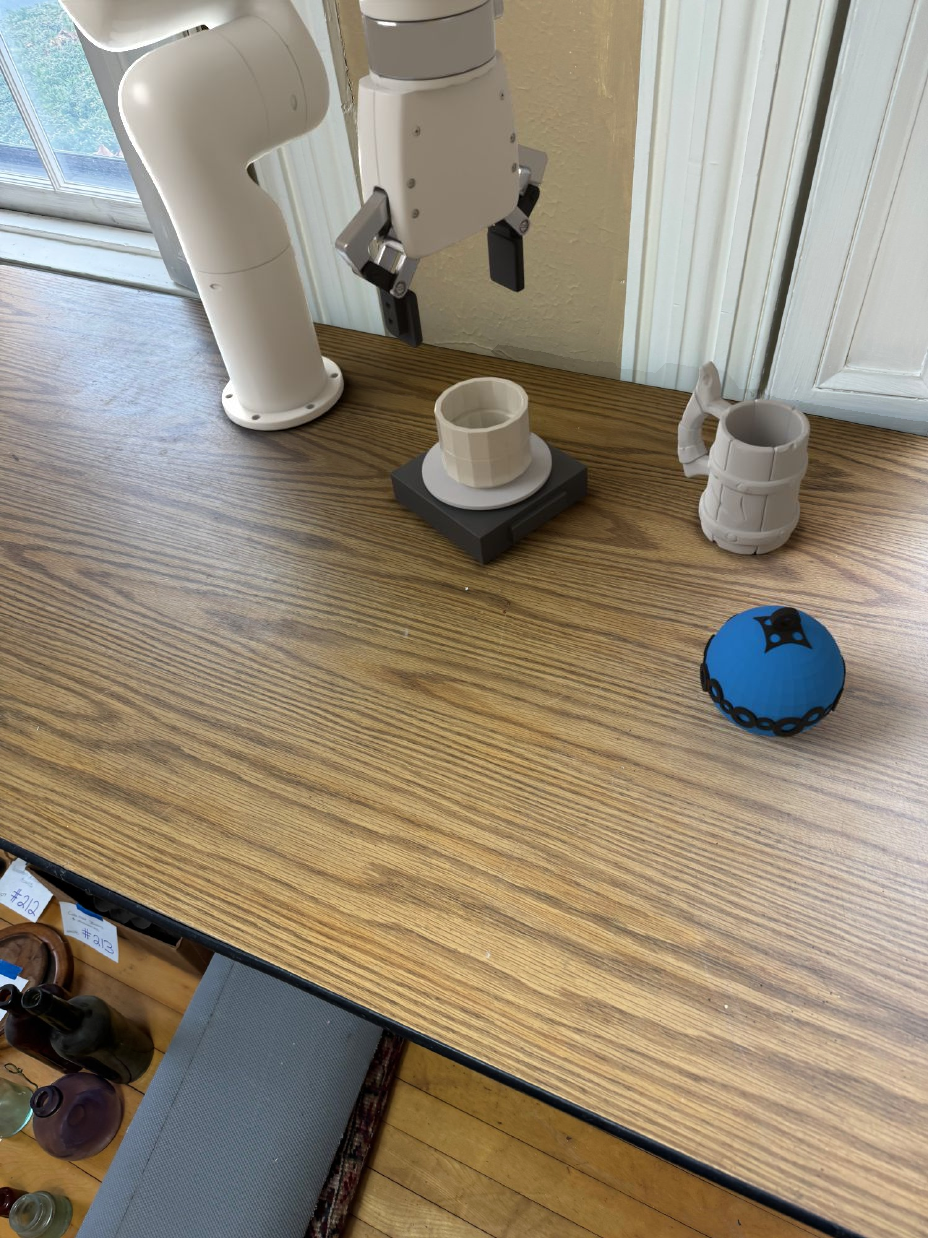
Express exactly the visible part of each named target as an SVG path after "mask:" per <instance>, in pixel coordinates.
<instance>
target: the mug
mask: <svg viewBox="0 0 928 1238" xmlns="http://www.w3.org/2000/svg"><path fill="white" fill-rule="evenodd" d="M709 415H712V416H713V417H715V418H716V419H718V424H717V425H718V426H717V430H716V434H715V440H714V442H713V443H712V445H711V446H710V450H709V452H708V450H707V447H706V445H705V442H704V439H702V434H703V424H704V423H703V422H704V420H705V419H706V418H707V417H708V416H709ZM810 433H811V423H810V421H809V419H808V416H806V415H805V414H804V413H803V412H802V411H801V410H800V409H798V408H796V406H793V405H791V404H790V403H786V402H784V401H779V400H773V399H769V398H768V399H766V398H756V399H755V400H754V399H747V400H742V401H739V402H737V403H735V404H732V403H730V402H729V401H727V400H725V399H724V398H722V384H721V379H720V374H719V371H718V368H717V366H716V365H715V363H714V362H713V361H711V360H710V361H708V362H706V363H704V364H702V365H701V366H700V367H699V375H698V380H697V383H696V386H695V387H694V389H693V391H692V395H691V396H690V399H689V401H688V402H687V405H686V408H685V410H684V412H683V415H682V419H681V420H680V422H679V423H678V428H677V440H678V441H677V455H678V460H679V463H680V464H682V467H683V473H684V476H685V477H687V478H688V479H692V478H695V477H696V476H707V477H708V480H707V484H706V488H705V489H704V491H703V492H702V494H701V495H700V499H699V504H698V516H699V519H700V521H701V522H700V524H701V529H702V531H703V534H704V535H705V536H706V538H707V539H708V540H709V541H710V542H715V543H716V544H717V546H718V547H719V548H720V549H723V550H726V551H728V552H732V553H735V554H740V555H749V556H750V555H753V554H754V553H755V554H756V555H763V554H767V553H769V552H772V551H773V552H774V551H775V550H776V549H779V548H780V547H782V546H783V545H784V544H786V542H787V541H788V540H789V538H790V537H791V535H792V533H793V531H794V530H795V528H796V527H797V526H798V523H799V520H800V516H801V504H800V501H799V494H800V490H801V489H800V488H801V485H802V484H801V483H802V480H803V478H805V476H806V473H807V469H808V466H809V453H808V451H807V449H808V446H809V445H808V444H809V440H810ZM708 453H709V455H707V454H708Z"/></svg>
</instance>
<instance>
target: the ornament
mask: <svg viewBox="0 0 928 1238" xmlns="http://www.w3.org/2000/svg"><path fill="white" fill-rule="evenodd" d="M703 649H704V650H703V654H702V657H703V659H702V662H701V663H700V665H699V680H700V687H701V689H702V690H701V691H703V692H705V693H708V696H709V697H710V699H711V702H712V703H713V704H714V706H715V707H716V709H717V711H719V712H720V713H721V714H722V715H723V716H724V717H725V719H727V720H728V722H730V723H732V724H733V725H734V726H736V728H739V729H741V730H743V731H745V732H747V733H751V734H753V735H757V736H761V737H767V738H790V737H794V736H796V735H799V734H800V733H803V732H805V731H808V730H810V729H811V728H813V727H815V726H816V725H818V724H820V722H821V721H822V720H824V719H825V718H827V717H828V715H829V714H830V713H831V712H835V710H836V709H837V707H838V705H839V702H840V700H841V698H842V695H843V693H844V691H845V683H846V675H847V668H846V662H845V658H844V656H843V654H842V652H841V649H840V647H839V645H838V644H837V642H836V639H835V638H834V636H833V635H832V633H831V632H830V631H829V630H828V629H827V628H826V626H825V625H824V624H823V623H821V622H820V621H819V620H818V619H816V618H814V617H813V616H811V615H810V614H808V613H807V612H805V611H802V610H800V609H797V608H795V607H792V606H786V605H785V606H784V605H778V604H777V605H762V606H755V607H752V608H749V609H746V610H743V611H741V612H740V613H736V614H734V615H731V616H730V617H729V618H728V619H727V620H726V621H725V623H724V624H723V625H722V626H721V627H720V628H719V630H718V631H717V632H716V633H712V634H711V636H710V637H709V639H708V640H707V642H706V644H705V646H704V648H703Z"/></svg>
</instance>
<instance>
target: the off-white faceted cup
mask: <svg viewBox="0 0 928 1238" xmlns="http://www.w3.org/2000/svg"><path fill="white" fill-rule="evenodd" d="M434 417H435V424H436V430H437V435H438V442H439V443H440V449H441V455H442V461H443V466H444V468H445V470H446V472H447V474H448V475H449V476H450V477H451V478H453V479H454V480H456V481H457V482H459V483H462V484H464V485H466V486H469V487H474V488H494V487H499V486H502V485H505V484H507V483H509V482H511V481H513V480H514V479H516V478H517V477H518V476H519V475H521V474H522V473H523V472H524V471H525V470H526V469H527V467H528V466H529V464H530V463H531V457H532V446H531V432H532V430H531V417H530V401H529V395H528V394H527V392H526V391H525V390H524V388H523V386H521V385H519V384H518V383H516V382H514V381H512V380H509V379H505V378H500V377H495V376H485V377H474V378H470V379H467V380H463V381H459V382H457V383H455V384H454V385H452V386H450V387H449V388H447V389H445V390H444V391H443V392H442V393H441V394H440V395H439V397H438V398H437V399H436V401H435V406H434Z"/></svg>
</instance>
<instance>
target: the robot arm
mask: <svg viewBox="0 0 928 1238" xmlns="http://www.w3.org/2000/svg"><path fill="white" fill-rule="evenodd" d="M58 2H59V4H60V5H61V6H62V8H63V9H64V10H65V12H66V14H68V15H69V17H70V19H71V20H72V22H73V23H74V24H75V25H76V27H77V28H78V29H79V30H80V32H81V33H82V34H83V35H84V36H85V37H86V38H87V39H88V41H90V42H91V43H93V44H94V45H95V46H97V47H98V48H101V49H103V50H106V51H110V52H125V51H129V50H130V51H131V50H134V49H138V48H141V47H144V46H145V47H146V46H148V45H150V44H153V43H156V42H159V41H161V40H162V41H163V40H164V39H168V38H170V37H172V36H175V35H177V34H181V33H183V32H185V31H188V30H191V29H195V28H196V27H199V26H202V25H204V26H206V27H208V29H203V30H199V31H197V32H194V33H192V34H190V35H187V36H185V37H182V38H179V39H176V40H174V41H171V42H168V43H166V44H163V45H161V46H158V47H157V48H154V49H152V50H151V51H148V52H147V53H145V54H144V55H142V56H141V57H140V58H138V59H136V60H135V62H133V63H132V64H131V66H130V67H128V69H127V70H126V72H125V74H124V75H123V77H122V80H121V81H120V85H119V89H118V107H119V113H120V117H121V120H122V122H123V125H124V128H125V130H126V131H125V132H126V133H127V135H128V137H129V140H130V141H131V143H132V146H133V147H134V149H135V150H136V152H137V154H138V155H139V158H140V160H141V161H142V163H143V164H144V166H145V168H146V170H147V172H148V174H149V176H150V177H151V179H152V181H153V183H154V185H155V187H156V189H157V191H158V193H159V195H160V197H161V199H162V202H163V204H164V206H165V209H166V210H167V213H168V215H169V218H170V220H171V222H172V225H173V227H174V229H175V232H176V235H177V238H178V240H179V243H180V246H181V248H182V252H183V254H184V257H185V259H186V262H187V264H188V266H189V269H190V272H191V274H192V277H193V280H194V282H195V286H196V288H197V291H198V294H199V296H200V299H201V302H202V305H203V308H204V311H205V313H206V316H207V318H208V322H209V325H210V328H211V330H212V333H213V335H214V338H215V341H216V344H217V346H218V349H219V352H220V355H221V358H222V360H223V363H224V366H225V368H226V369H225V370H226V372H227V373H228V377H229V382H228V383H227V384H226V386H225V387H224V389H223V392H222V396H221V401H222V402H221V403H222V406H223V409H224V411H225V414H226V415H227V417H228V418H229V419H230V420H231V421H232V422H233V423H235V424H236V425H239V426H241V427H242V428H247V429H250V430H255V431H279V430H285V429H286V430H287V429H289V428H294V427H298V426H301V425H303V424H306V423H309V422H311V421H313V420H315V419H316V418H319V417H320V416H322V415H324V414H325V413H326V412H328V411H329V410H330V409H331V408H332V407H333V406H335V404H337V402H338V400H339V399H340V398H341V396H342V394H343V391H344V386H345V381H344V377H343V373H342V371H341V368H340V367H339V365H337V363H336V362H334V361H333V360H332V359H330V358H328V357H325V356H323V355H322V352H321V348H320V345H319V344H320V343H319V339H318V336H317V333H316V329H315V325H314V321H313V317H312V314H311V310H310V306H309V302H308V299H307V294H306V291H305V286H304V283H303V280H302V276H301V271H300V269H299V264H298V261H297V257H296V252H295V250H294V245H293V242H292V238H291V235H290V231H289V227H288V223H287V220H286V218H285V216H284V213H283V211H282V209H281V208H280V207H281V206H279V204H278V202H277V201H276V200H275V199H274V198H273V197H272V196H271V195H270V194H269V193H268V192H267V191H266V190H265V189H263V188H262V187H261V186H259V184H258V183H256V182H255V181H253V179H252V178H251V177H250V175H249V173H248V170H247V169H248V167H249V166H250V164H252V163H254V162H256V161H258V160H260V159H261V158H262V157H263V156H265V155H268V154H270V153H272V152H275V151H276V150H279V149H281V148H282V147H284V146H286V145H288V144H291V143H293V142H295V141H297V140H299V139H301V138H303V137H305V136H307V135H308V134H310V133H311V132H313V131H314V130H316V129H317V128H318V127H319V126H320V125H321V124H322V122H323V120H324V119H325V118H326V115H327V113H328V110H329V106H330V98H331V97H330V95H331V94H330V83H329V77H328V74H327V69H326V67H325V66H326V65H325V63H324V61H323V58H322V55H321V53H320V51H319V49H318V47H317V45H316V43H315V40H314V38H313V37H312V35H311V33H310V32H309V30H308V28H307V26H306V24H305V23H304V21H303V19H302V17H301V16H300V14H299V12H298V10H297V9H296V6H295V5H294V4H293V2H292V1H291V0H58ZM358 3H359V9H360V18H361V25H362V30H363V31H362V33H363V38H364V46H365V51H366V58H367V63H368V64H367V65H368V70H369V71H368V72H369V74H367V75H365V76H363V77H361V78H359V80H358V89H357V114H356V115H357V116H356V117H357V119H356V121H357V125H356V126H357V149H358V160H359V162H358V163H359V173H360V184H361V191H362V200H363V205H362V206H361V207H360V209H359V210H358V212H356V214H355V215H354V216H353V218H352V219H351V220H350V221H349V222H348V224H347V225H346V227H345V228H344V229H343V230H342V231H341V232H340V233H339V235H338V236H337V237H336V239H335V241H334V249H335V250H336V252H337V253H338V254H339V255H340V256H341V258H342V260H343V261H345V263H346V265H347V266H349V267H350V268H351V271H352V272H353V274H354V275H356V276H357V277H359V278H361V279H363V280H364V281H366V282H368V283H370V284H371V285H373V286H375V287H378V290H379V295H380V300H381V307H382V313H383V320H384V325H385V327H386V329H387V331H388V332H389V334H391V336H393V337H395V338H397V339H398V340H399V341H401V342H403V343H405V344H407V345H409V347H411V348H413V349H416V348H418V347H420V346H422V344H423V341H424V337H423V331H422V330H423V329H422V324H421V318H420V317H421V316H420V310H419V302H418V296H417V293H416V292H415V291H413V290H411V289H410V286H411V283H412V281H413V278H414V276H415V273H416V271H417V268H418V266H419V263H420V261H421V259H425V258H427V257H429V256H433V255H434V254H436V253H438V252H441V251H442V250H444V249H446V248H449V247H451V246H452V245H454V244H456V243H459V242H461V241H463V240H465V239H468V238H469V237H471V236H473V235H476V234H477V233H479V232H481V231H483V230H485V229H487V233H486V238H487V239H486V240H487V255H488V267H489V268H488V269H489V278H490V280H491V282H493V283H496V284H498V285H500V286H502V287H504V288H506V289H508V290H510V291H512V292H515V293H519V292H522V291H524V290H525V285H526V284H525V283H526V282H525V258H524V236H525V235H527V234H528V233H529V231H530V229H531V220H530V216H531V214H532V213H533V211H534V209H535V207H536V205H537V203H538V201H539V199H540V197H541V196H540V195H541V190H540V187H539V186H540V185H541V184H542V181H543V178H544V174H545V171H546V168H547V164H548V160H549V157H548V154H547V152H544V151H542V150H539V149H536V148H534V147H530V146H527V145H523V144H520V143H518V137H517V136H518V135H517V127H516V120H515V118H516V117H515V112H514V105H513V99H512V93H511V88H510V81H509V78H508V72H507V68H506V65H505V61H504V57H503V53H502V52H501V51H500V50H499V49H498V48H497V43H496V25H495V21H496V20H498V19H500V18H502V16H503V14H504V11H505V9H504V1H503V0H358ZM372 241H374V242H378V243H380V246H379V248H378V250H377V254H376V256H375V258H374V259H373V258H372V255H371V254H370V252H369V245H370V244H371V242H372ZM399 253H400V256H399V260H398V262H397V264H396V266H395V269H394V272H392V269H393V267H394V265H395V262H396V259H397V257H398V255H399Z"/></svg>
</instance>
